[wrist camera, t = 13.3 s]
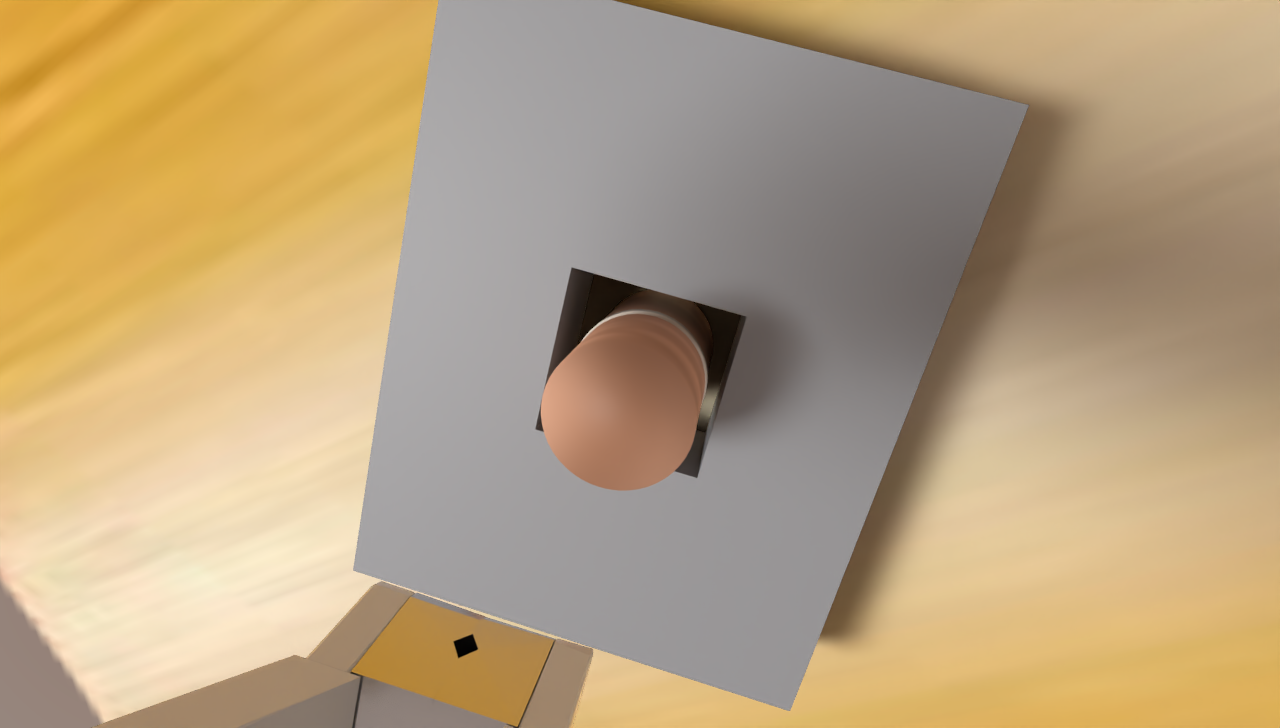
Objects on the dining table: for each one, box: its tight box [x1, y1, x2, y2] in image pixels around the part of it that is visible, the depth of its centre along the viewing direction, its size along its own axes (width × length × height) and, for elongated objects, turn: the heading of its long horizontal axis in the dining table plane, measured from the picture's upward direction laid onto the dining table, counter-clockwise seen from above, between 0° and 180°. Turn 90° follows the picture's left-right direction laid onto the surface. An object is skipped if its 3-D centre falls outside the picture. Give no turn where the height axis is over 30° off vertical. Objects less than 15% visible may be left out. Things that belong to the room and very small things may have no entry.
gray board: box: [353, 0, 1029, 711], centre depth 24 cm, size 16×20×4 cm
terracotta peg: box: [541, 289, 713, 491], centre depth 22 cm, size 4×4×8 cm
